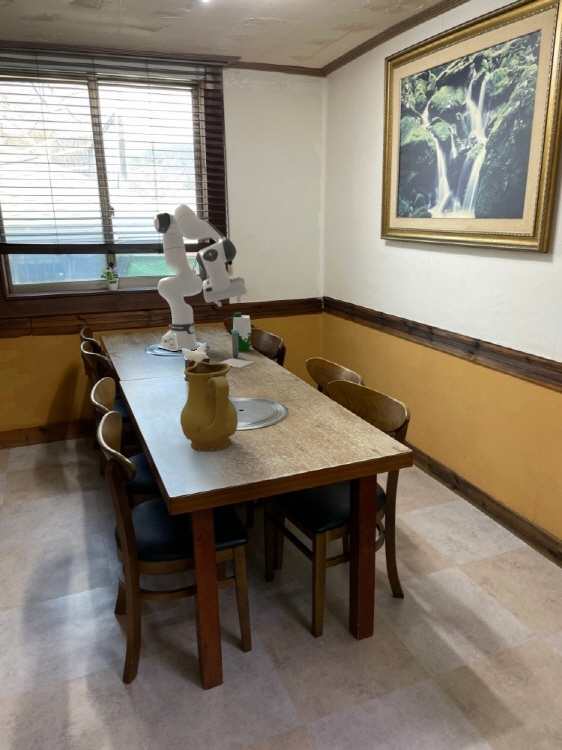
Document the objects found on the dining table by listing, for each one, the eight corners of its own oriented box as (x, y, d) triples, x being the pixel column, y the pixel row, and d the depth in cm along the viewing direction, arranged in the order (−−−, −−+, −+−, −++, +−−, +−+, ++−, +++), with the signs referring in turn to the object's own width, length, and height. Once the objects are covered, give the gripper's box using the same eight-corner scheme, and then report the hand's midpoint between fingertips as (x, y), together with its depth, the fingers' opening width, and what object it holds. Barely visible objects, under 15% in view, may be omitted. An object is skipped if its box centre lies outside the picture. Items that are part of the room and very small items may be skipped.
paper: (216, 364, 254) (216, 363, 254) (230, 359, 264) (230, 358, 264) (240, 368, 247) (240, 367, 247) (254, 362, 257) (254, 361, 257)
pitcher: (240, 430, 171) (235, 356, 163) (238, 457, 153) (231, 375, 145) (187, 433, 171) (179, 358, 163) (178, 460, 153) (169, 378, 145)
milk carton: (235, 348, 287) (233, 311, 281) (251, 348, 287) (250, 311, 281) (233, 352, 278) (232, 314, 273) (250, 351, 278) (249, 314, 273)
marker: (231, 357, 267) (230, 330, 263) (234, 356, 269) (233, 329, 265) (236, 358, 265) (235, 330, 261) (240, 357, 268) (239, 329, 264)
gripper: (242, 272, 244) (250, 294, 254) (200, 282, 246) (209, 303, 256) (243, 280, 240) (251, 303, 250) (199, 290, 242) (209, 312, 252)
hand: (229, 303), depth 253 cm, fingers open, 8 cm apart
